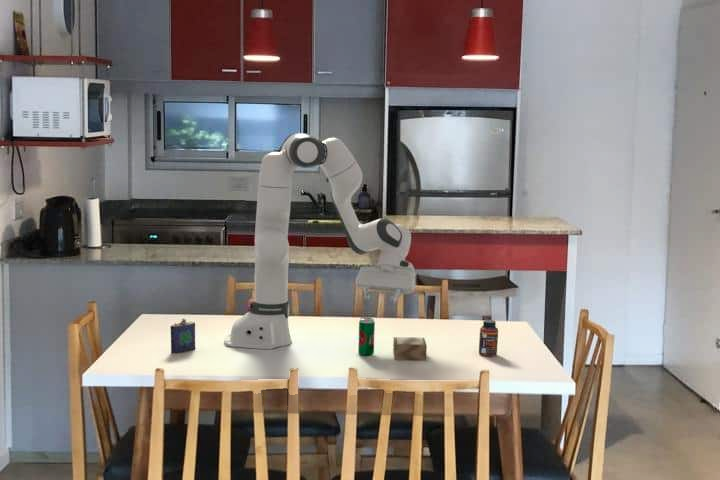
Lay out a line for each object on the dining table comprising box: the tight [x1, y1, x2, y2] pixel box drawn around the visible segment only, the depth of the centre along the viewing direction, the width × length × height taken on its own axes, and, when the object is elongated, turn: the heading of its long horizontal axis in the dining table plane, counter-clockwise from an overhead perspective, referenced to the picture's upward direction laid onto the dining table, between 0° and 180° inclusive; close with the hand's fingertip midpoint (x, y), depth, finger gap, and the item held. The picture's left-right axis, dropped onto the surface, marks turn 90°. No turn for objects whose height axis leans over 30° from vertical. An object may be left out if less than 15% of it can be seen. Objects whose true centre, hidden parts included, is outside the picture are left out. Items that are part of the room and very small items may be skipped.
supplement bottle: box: [478, 319, 499, 357], centre depth 304 cm, size 6×6×11 cm
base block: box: [392, 336, 428, 362], centre depth 300 cm, size 10×10×5 cm
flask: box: [170, 318, 196, 355], centre depth 299 cm, size 9×3×11 cm, turn 138°
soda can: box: [357, 316, 376, 357], centre depth 300 cm, size 5×5×12 cm
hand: (379, 300), depth 309 cm, fingers open, 8 cm apart
